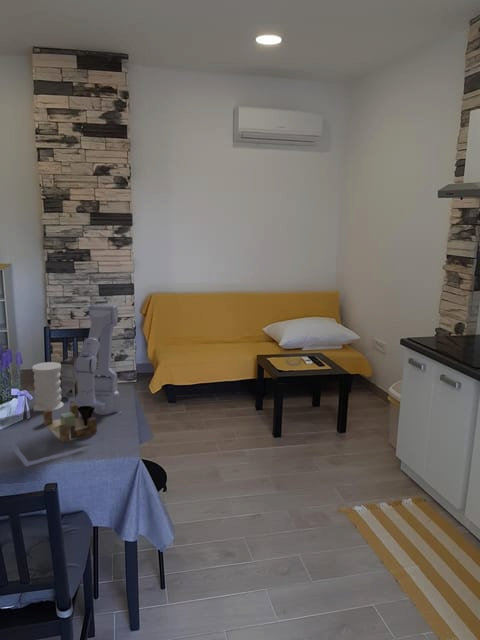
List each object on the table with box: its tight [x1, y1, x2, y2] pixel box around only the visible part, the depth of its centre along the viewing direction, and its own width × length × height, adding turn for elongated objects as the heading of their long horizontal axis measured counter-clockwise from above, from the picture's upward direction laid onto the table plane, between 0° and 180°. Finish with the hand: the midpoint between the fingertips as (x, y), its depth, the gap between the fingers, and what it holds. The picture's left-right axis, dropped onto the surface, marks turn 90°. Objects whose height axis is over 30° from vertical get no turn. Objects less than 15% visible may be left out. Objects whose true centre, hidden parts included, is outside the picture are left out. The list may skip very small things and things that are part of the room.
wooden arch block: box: [75, 416, 98, 437], centre depth 176 cm, size 7×2×5 cm, turn 129°
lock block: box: [60, 411, 75, 427], centre depth 184 cm, size 4×4×4 cm
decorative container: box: [31, 361, 64, 412], centre depth 200 cm, size 12×12×18 cm
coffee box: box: [60, 355, 79, 399], centre depth 217 cm, size 9×6×16 cm
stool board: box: [42, 403, 98, 443], centre depth 181 cm, size 13×20×6 cm, turn 39°
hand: (87, 424), depth 180 cm, fingers closed
